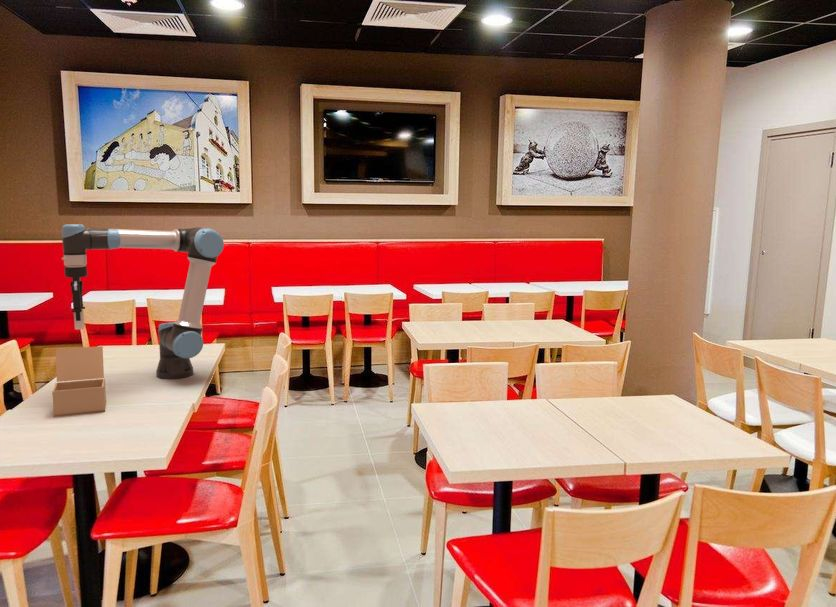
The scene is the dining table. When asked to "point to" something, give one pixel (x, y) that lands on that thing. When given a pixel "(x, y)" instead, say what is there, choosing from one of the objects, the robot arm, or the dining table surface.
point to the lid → (79, 363)
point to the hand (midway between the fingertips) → (79, 327)
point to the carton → (79, 397)
